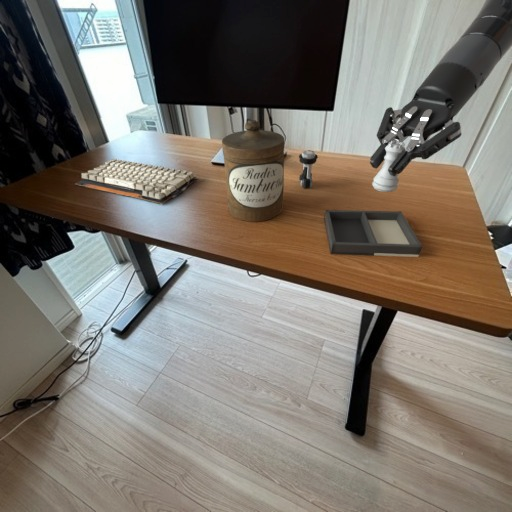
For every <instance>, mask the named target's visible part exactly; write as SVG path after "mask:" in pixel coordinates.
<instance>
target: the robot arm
mask: <svg viewBox="0 0 512 512" xmlns="http://www.w3.org/2000/svg"><path fill="white" fill-rule="evenodd" d="M511 48H512V0H485V1H484V3H483V4H482V6H481V8H480V10H479V12H478V14H476V16H475V18H474V20H473V21H472V22H471V23H470V25H469V26H468V27H467V28H466V29H465V31H464V32H463V33H462V35H461V36H460V37H459V39H458V40H457V41H456V42H455V43H454V44H453V45H452V46H451V47H450V48H449V50H448V51H447V52H446V53H445V54H444V55H443V56H442V58H440V60H439V61H438V63H437V64H436V65H435V66H434V68H433V69H432V71H430V73H429V74H428V76H426V78H425V79H424V81H423V82H422V83H421V84H420V86H419V87H417V90H416V91H415V92H414V95H413V97H412V99H411V101H409V102H408V103H406V104H405V105H404V106H403V107H402V108H400V109H395V110H394V109H393V107H391V106H389V107H387V108H386V109H385V111H384V114H383V117H382V119H381V122H380V125H379V127H378V130H377V132H376V138H377V140H378V142H379V144H380V145H379V146H378V148H377V149H376V150H375V151H374V152H373V154H372V155H371V156H370V160H369V164H370V165H371V167H372V168H373V169H378V168H379V167H380V166H381V165H382V164H383V163H384V156H385V155H386V150H385V147H386V146H387V145H388V143H389V142H391V141H394V144H396V142H397V141H400V142H399V144H401V142H404V141H405V140H407V139H408V138H409V137H411V138H410V140H409V142H408V144H407V145H406V147H405V149H406V150H405V151H402V152H401V153H400V154H399V156H398V157H397V158H396V159H395V160H394V162H393V163H392V164H391V165H390V167H389V168H388V172H389V173H390V175H392V176H396V175H400V174H401V173H403V171H404V170H405V169H406V168H407V166H408V165H410V163H411V162H412V160H415V159H416V158H417V159H419V158H421V159H422V160H427V159H429V158H431V157H432V156H434V155H435V154H437V153H438V152H440V151H441V150H443V149H444V148H445V147H447V146H448V145H450V144H451V143H453V142H455V141H456V140H457V139H459V138H461V136H462V126H461V122H459V121H453V120H454V118H455V117H456V116H457V115H458V114H459V112H460V111H461V110H462V109H463V108H464V106H465V105H466V104H467V103H468V102H469V101H470V100H471V98H472V97H473V96H474V94H475V93H476V92H477V91H478V90H479V89H480V88H481V87H482V86H483V85H484V83H485V81H487V79H488V78H489V76H490V75H491V73H492V72H493V70H494V69H495V67H496V66H497V65H498V64H499V62H500V61H501V60H502V59H503V58H504V56H505V55H506V54H507V53H508V51H510V49H511ZM434 134H435V135H434ZM432 135H433V136H432ZM431 136H432V137H431Z"/></svg>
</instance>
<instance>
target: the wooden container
mask: <svg viewBox="0 0 512 512" xmlns="http://www.w3.org/2000/svg"><path fill="white" fill-rule="evenodd" d="M260 128H261V125H260V122H259V121H257V120H256V119H249V120H247V122H245V124H244V129H245V130H241V131H235V132H233V133H230V134H228V135H225V137H223V138H222V140H221V148H222V154H223V155H222V156H223V163H224V173H225V174H224V175H225V188H226V197H227V206H228V211H229V214H231V215H232V216H233V217H234V218H236V219H238V220H241V221H245V222H264V221H268V220H271V219H273V218H275V217H277V216H279V214H281V212H282V211H283V205H284V189H285V188H284V187H285V186H284V185H285V183H284V182H285V173H284V172H285V137H284V136H283V135H282V134H281V133H279V132H275V131H271V130H265V129H264V130H262V129H260Z"/></svg>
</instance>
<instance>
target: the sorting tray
mask: <svg viewBox="0 0 512 512" xmlns="http://www.w3.org/2000/svg"><path fill="white" fill-rule="evenodd" d="M323 220H324V227H325V231H326V236H327V243H328V247H329V253H330V255H349V256H351V255H352V256H379V257H380V256H381V257H404V258H405V257H409V258H419V257H420V254H421V252H422V250H423V248H424V246H423V244H422V243H421V241H420V240H419V238H418V236H417V235H416V233H415V232H414V230H413V228H412V227H411V225H410V223H409V222H408V220H407V219H406V216H405V215H404V214H403V212H402V210H400V211H396V210H392V211H391V210H353V209H350V210H348V209H346V210H345V209H325V211H324V217H323Z"/></svg>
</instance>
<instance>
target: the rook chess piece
mask: <svg viewBox="0 0 512 512" xmlns="http://www.w3.org/2000/svg"><path fill="white" fill-rule="evenodd" d="M399 142H400V141H397V142H396V144H394V141H392V140H391V142H389V143H388V145H387V146H386V147H385V150H386V155H385V156H384V161H383V162H382V164H381V165H382V166H381V167H380V170H379V171H378V172H377V174H376V175H375V176H374V177H373V181H372V182H371V185H372V188H374V189H375V190H376V191H378V192H382V193H392V192H393V191H395V190H397V189H398V184H399V182H400V180H399V174H397V175H396V176H392V175H390V173H389V172H388V168H389V167H390V165H391V164H392V163H393V162H394V160H395V159H396V158H397V157H398V156H399V154H400V153H401V152H402V151H406V147H405V146H406V145H405V144H406V143H405V142H404V141H403V142H400V143H399Z"/></svg>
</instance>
